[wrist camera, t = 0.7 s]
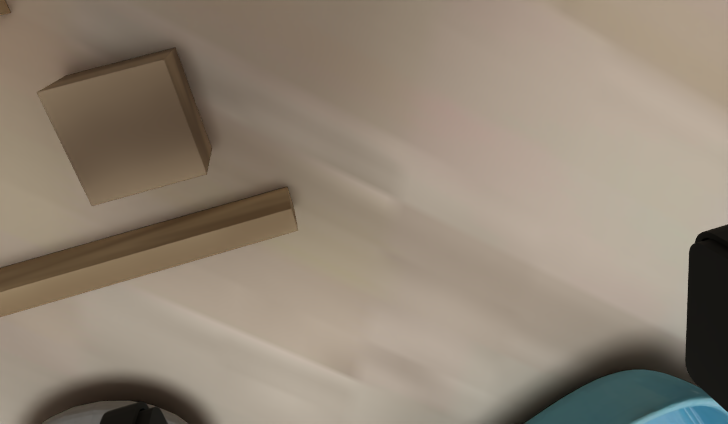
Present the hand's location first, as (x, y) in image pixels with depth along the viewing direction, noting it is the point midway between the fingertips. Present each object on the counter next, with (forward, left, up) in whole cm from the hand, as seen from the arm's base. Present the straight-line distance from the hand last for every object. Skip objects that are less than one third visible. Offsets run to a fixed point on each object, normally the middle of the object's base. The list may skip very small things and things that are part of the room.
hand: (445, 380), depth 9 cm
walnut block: (-2, -8, -20) cm, 22 cm away
